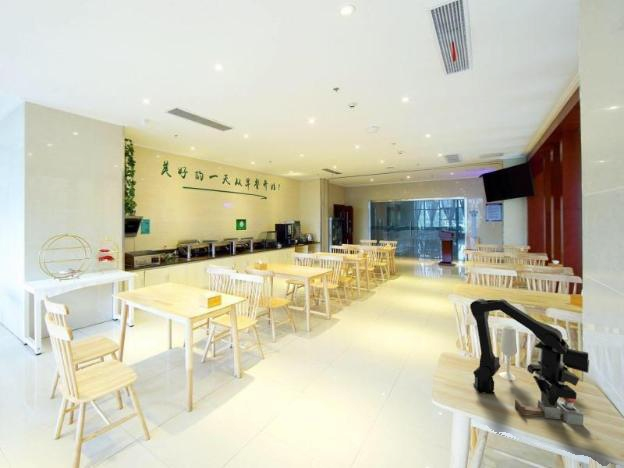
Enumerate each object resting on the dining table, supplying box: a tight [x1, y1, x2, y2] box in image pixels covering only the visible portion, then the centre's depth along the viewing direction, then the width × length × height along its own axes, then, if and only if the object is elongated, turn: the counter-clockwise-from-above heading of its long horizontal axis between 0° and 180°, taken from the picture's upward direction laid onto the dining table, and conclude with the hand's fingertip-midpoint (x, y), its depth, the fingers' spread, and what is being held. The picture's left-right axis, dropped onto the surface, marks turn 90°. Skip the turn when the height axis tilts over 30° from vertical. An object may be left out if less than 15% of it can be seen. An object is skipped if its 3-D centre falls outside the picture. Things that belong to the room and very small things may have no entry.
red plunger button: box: [562, 398, 577, 411], centre depth 104 cm, size 4×4×5 cm
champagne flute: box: [498, 324, 518, 381], centre depth 133 cm, size 7×7×24 cm
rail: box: [514, 399, 563, 420], centre depth 106 cm, size 14×4×4 cm, turn 79°
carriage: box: [537, 391, 561, 420], centre depth 106 cm, size 5×4×8 cm
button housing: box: [557, 400, 585, 426], centre depth 105 cm, size 5×7×4 cm
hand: (549, 402), depth 106 cm, fingers closed on carriage, 3 cm apart
